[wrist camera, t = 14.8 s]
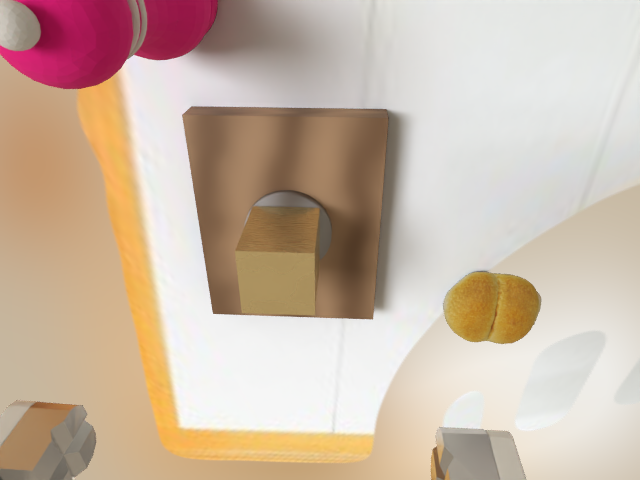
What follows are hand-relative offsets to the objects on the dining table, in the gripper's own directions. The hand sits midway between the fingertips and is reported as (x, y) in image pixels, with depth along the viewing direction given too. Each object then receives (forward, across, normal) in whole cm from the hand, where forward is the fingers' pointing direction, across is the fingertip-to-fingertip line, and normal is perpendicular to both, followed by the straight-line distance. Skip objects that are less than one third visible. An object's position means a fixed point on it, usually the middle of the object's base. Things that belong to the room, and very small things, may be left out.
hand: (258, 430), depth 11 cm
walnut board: (+30, +4, +12) cm, 33 cm away
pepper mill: (+31, +12, -6) cm, 34 cm away
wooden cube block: (+27, +3, +12) cm, 29 cm away
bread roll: (+31, -16, +21) cm, 41 cm away
